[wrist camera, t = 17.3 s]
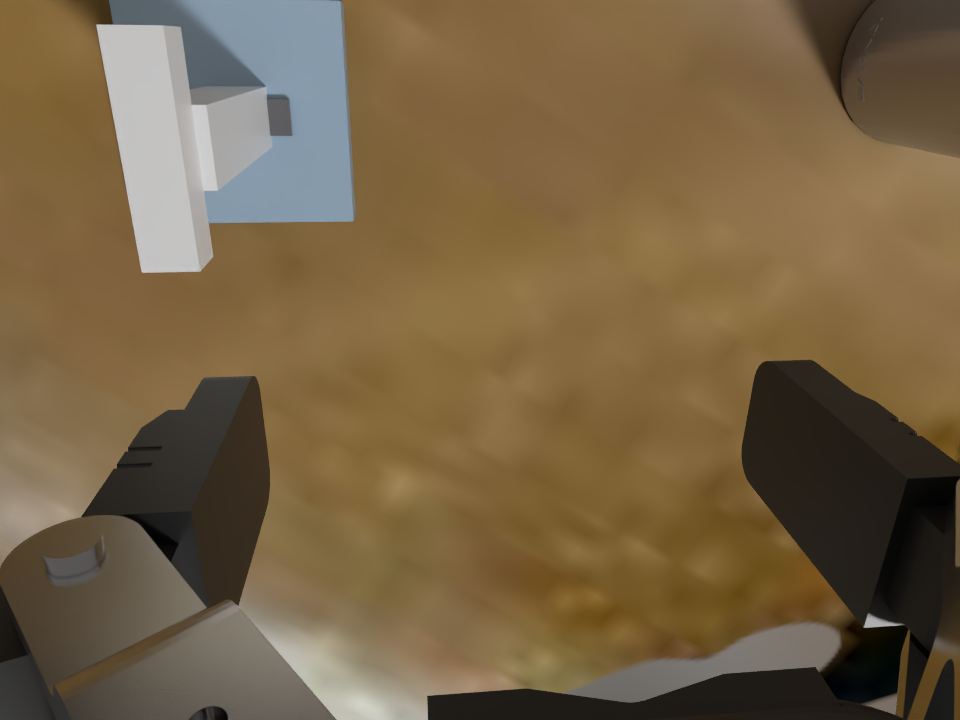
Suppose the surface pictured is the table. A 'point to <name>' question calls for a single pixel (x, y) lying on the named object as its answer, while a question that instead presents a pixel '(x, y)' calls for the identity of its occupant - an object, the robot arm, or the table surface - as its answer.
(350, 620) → the table surface
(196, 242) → the snap cover
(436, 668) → the table surface
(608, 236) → the table surface
